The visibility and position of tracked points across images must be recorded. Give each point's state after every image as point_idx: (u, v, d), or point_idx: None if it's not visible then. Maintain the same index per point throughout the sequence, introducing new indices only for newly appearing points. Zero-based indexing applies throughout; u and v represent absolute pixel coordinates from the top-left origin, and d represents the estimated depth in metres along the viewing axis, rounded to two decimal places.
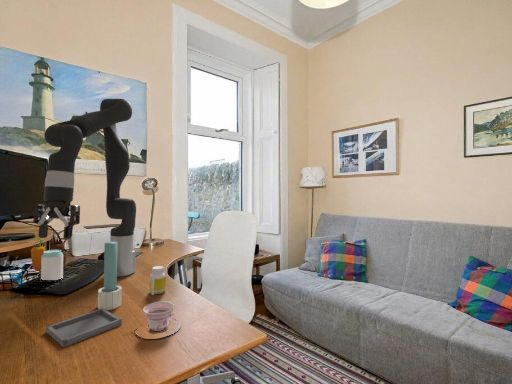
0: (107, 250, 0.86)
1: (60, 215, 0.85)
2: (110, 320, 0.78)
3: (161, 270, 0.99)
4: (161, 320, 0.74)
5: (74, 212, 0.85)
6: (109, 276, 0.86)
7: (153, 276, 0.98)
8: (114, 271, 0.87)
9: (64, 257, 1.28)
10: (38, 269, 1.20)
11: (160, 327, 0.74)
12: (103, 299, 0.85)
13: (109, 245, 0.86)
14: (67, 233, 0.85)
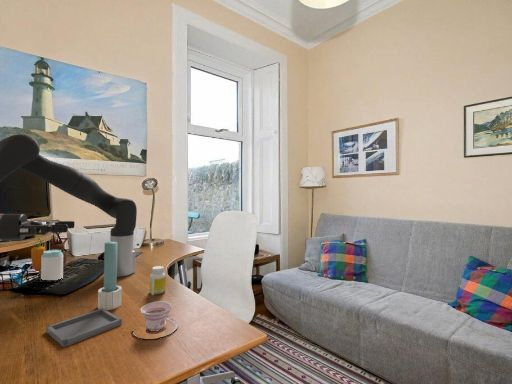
0: (107, 250, 0.86)
1: None
2: (110, 320, 0.78)
3: (161, 270, 0.99)
4: (158, 320, 0.74)
5: (29, 233, 0.74)
6: (109, 276, 0.86)
7: (153, 276, 0.98)
8: (114, 271, 0.87)
9: (64, 257, 1.28)
10: (38, 269, 1.20)
11: (157, 327, 0.74)
12: (103, 299, 0.85)
13: (109, 245, 0.86)
14: (60, 231, 0.78)
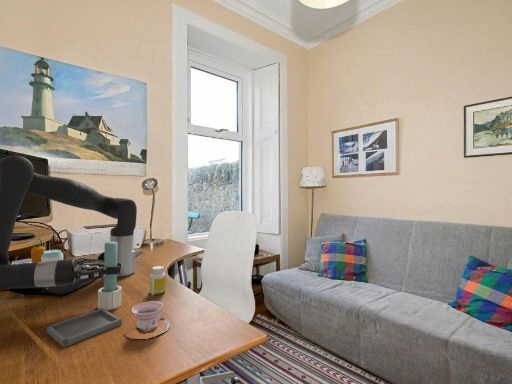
0: (107, 250, 0.86)
1: None
2: (110, 320, 0.78)
3: (161, 270, 0.99)
4: (149, 320, 0.74)
5: (89, 279, 0.81)
6: (109, 276, 0.86)
7: (153, 276, 0.98)
8: None
9: (64, 257, 1.28)
10: None
11: (149, 327, 0.74)
12: (103, 299, 0.85)
13: (109, 245, 0.86)
14: None
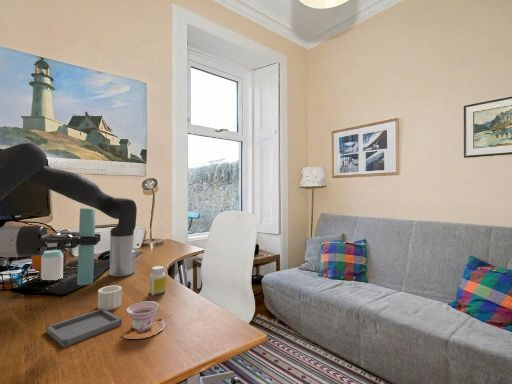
0: (82, 216, 0.73)
1: None
2: (110, 320, 0.78)
3: (161, 270, 0.99)
4: (144, 320, 0.74)
5: (59, 248, 0.67)
6: (84, 248, 0.73)
7: (153, 276, 0.98)
8: None
9: (64, 257, 1.28)
10: (38, 269, 1.20)
11: (144, 327, 0.74)
12: (103, 299, 0.85)
13: (85, 210, 0.73)
14: (90, 243, 0.72)
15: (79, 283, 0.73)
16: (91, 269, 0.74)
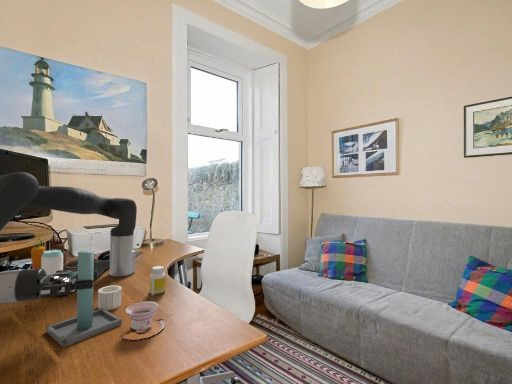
0: (80, 260, 0.72)
1: None
2: (110, 320, 0.78)
3: (161, 270, 0.99)
4: (144, 320, 0.73)
5: (51, 295, 0.65)
6: (83, 292, 0.72)
7: (153, 276, 0.98)
8: None
9: (64, 257, 1.28)
10: None
11: (143, 328, 0.73)
12: (103, 299, 0.85)
13: (83, 255, 0.72)
14: (85, 288, 0.70)
15: (79, 328, 0.72)
16: (90, 313, 0.74)
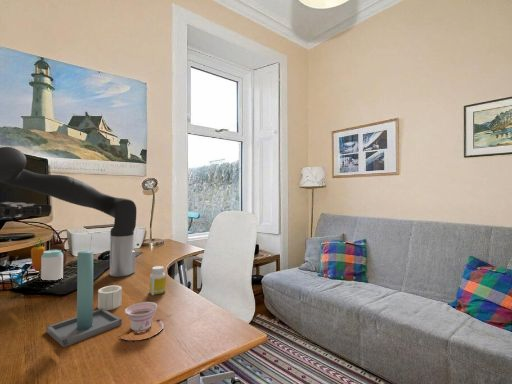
0: (80, 261, 0.72)
1: (8, 217, 0.71)
2: (110, 320, 0.78)
3: (161, 270, 0.99)
4: (143, 321, 0.73)
5: None
6: (83, 292, 0.72)
7: (153, 276, 0.98)
8: (89, 286, 0.73)
9: (64, 257, 1.28)
10: (38, 269, 1.20)
11: (142, 328, 0.73)
12: (103, 299, 0.85)
13: (83, 255, 0.72)
14: (32, 214, 0.71)
15: (79, 328, 0.72)
16: (90, 313, 0.74)
